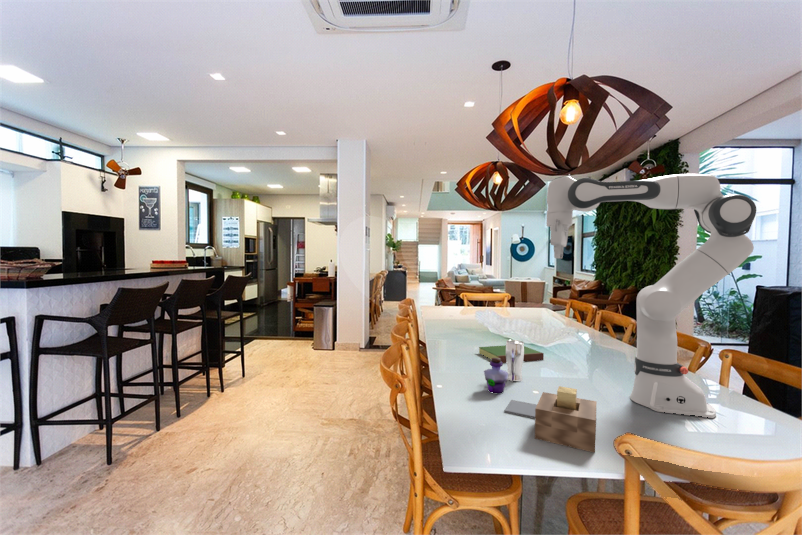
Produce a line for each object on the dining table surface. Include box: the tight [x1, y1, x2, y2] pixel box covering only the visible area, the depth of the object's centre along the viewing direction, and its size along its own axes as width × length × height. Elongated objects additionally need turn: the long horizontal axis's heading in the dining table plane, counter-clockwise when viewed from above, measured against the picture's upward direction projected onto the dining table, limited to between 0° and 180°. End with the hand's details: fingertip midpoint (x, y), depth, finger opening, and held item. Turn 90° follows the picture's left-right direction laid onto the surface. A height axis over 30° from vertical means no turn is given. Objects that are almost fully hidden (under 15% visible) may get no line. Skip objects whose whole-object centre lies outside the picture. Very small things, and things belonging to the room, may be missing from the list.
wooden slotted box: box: [534, 391, 598, 453], centre depth 99 cm, size 14×14×8 cm
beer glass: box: [505, 339, 525, 382], centre depth 144 cm, size 7×7×15 cm
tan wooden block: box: [556, 385, 578, 411], centre depth 99 cm, size 4×4×8 cm
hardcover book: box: [478, 345, 544, 364], centre depth 180 cm, size 25×19×4 cm
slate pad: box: [503, 399, 538, 420], centre depth 115 cm, size 10×10×1 cm
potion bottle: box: [483, 358, 508, 394], centre depth 131 cm, size 9×9×12 cm
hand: (558, 258), depth 136 cm, fingers open, 8 cm apart
